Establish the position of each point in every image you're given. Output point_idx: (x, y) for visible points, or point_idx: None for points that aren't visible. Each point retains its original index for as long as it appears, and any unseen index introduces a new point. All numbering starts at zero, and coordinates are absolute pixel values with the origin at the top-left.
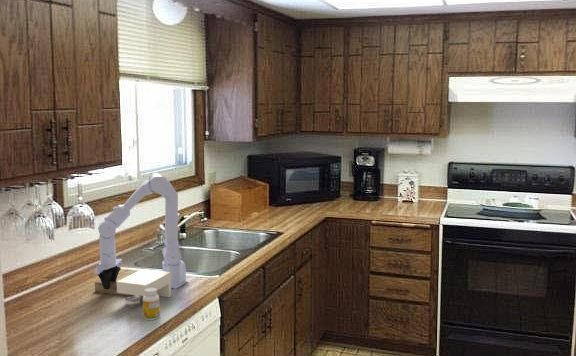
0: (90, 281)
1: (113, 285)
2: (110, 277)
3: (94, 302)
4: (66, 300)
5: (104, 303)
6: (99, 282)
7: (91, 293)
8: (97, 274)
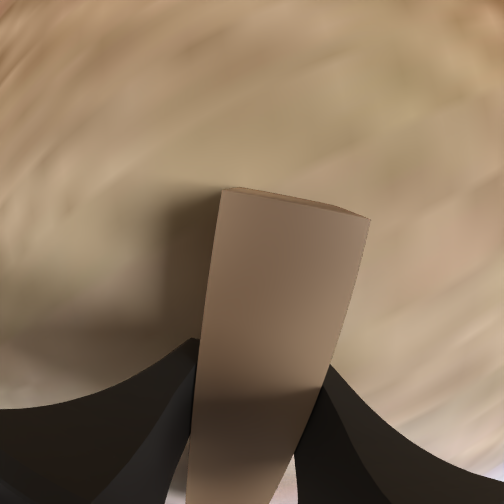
0: (494, 36)
1: (189, 459)
2: (324, 450)
3: (15, 321)
4: (5, 91)
5: (32, 385)
6: (222, 287)
7: (163, 184)
8: (2, 416)
